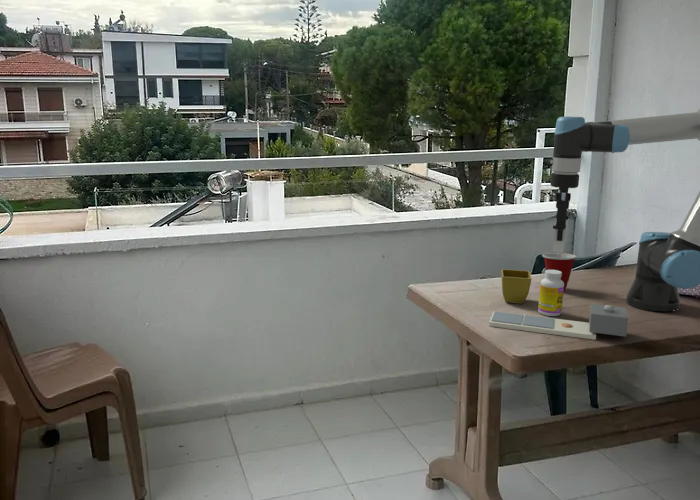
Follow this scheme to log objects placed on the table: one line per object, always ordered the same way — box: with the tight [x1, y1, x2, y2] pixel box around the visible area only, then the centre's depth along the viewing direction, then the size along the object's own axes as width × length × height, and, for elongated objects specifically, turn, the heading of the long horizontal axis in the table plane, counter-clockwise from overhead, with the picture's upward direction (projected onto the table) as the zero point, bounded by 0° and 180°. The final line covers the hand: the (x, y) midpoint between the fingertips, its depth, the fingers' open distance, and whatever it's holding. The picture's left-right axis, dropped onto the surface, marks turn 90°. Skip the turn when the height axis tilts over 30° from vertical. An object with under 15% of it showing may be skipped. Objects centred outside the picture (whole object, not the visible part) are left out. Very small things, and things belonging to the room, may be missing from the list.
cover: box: [588, 303, 629, 337], centre depth 173 cm, size 9×9×6 cm
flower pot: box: [501, 268, 533, 305], centre depth 201 cm, size 9×9×9 cm
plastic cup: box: [542, 252, 577, 292], centre depth 214 cm, size 11×11×12 cm
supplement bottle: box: [537, 269, 565, 317], centre depth 190 cm, size 7×7×13 cm
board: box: [488, 310, 597, 341], centre depth 180 cm, size 28×10×2 cm, turn 71°
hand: (558, 246), depth 185 cm, fingers open, 13 cm apart
